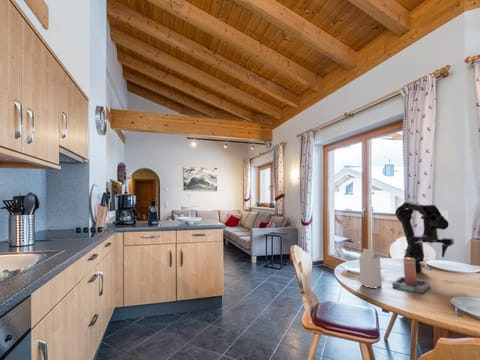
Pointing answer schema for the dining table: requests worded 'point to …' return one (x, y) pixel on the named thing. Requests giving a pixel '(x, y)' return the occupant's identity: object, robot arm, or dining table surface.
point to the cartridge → (410, 271)
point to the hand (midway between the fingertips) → (432, 256)
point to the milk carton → (370, 268)
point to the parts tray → (420, 288)
